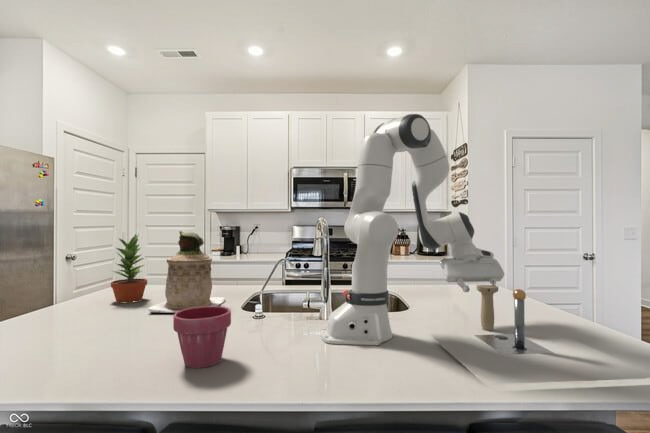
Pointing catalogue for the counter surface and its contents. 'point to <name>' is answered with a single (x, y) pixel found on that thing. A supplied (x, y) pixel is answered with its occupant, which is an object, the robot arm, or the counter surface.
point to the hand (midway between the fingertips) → (480, 290)
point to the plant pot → (202, 334)
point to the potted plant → (129, 274)
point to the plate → (511, 344)
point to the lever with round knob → (519, 318)
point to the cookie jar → (188, 278)
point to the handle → (487, 306)
